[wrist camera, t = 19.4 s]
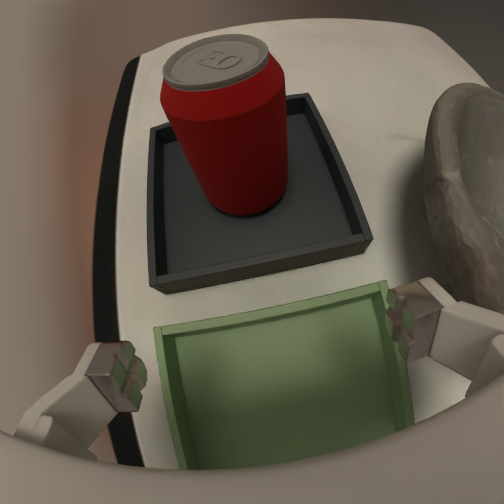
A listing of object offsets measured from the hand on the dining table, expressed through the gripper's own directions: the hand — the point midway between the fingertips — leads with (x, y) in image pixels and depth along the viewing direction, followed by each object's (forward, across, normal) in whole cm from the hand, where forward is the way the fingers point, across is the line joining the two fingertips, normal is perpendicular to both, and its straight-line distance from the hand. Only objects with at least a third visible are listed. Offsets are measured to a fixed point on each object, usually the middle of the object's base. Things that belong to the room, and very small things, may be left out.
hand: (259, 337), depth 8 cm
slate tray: (+17, 0, -1) cm, 17 cm away
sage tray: (+4, 0, +12) cm, 12 cm away
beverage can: (+16, 0, -1) cm, 16 cm away
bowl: (+10, -21, +6) cm, 24 cm away
